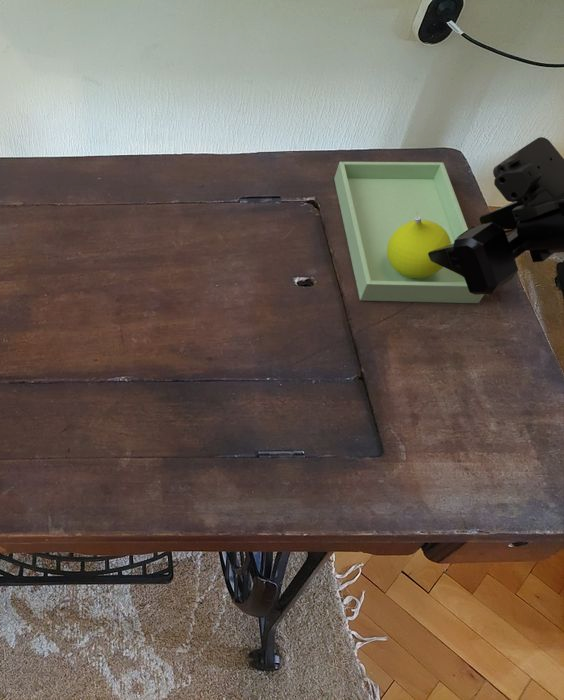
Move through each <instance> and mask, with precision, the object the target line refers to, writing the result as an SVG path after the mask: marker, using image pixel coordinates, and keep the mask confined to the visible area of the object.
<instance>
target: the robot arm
mask: <svg viewBox="0 0 564 700" xmlns="http://www.w3.org/2000/svg"><path fill="white" fill-rule="evenodd" d="M492 173H493V177H494V182H493V184H494V186H495V188H496V189H497V190H498V191H499V193H500V194H501V196H503V198H504V199H505V200H506V201H507V202H509V203H508V204H505V205H503V206H501V207H498V208H496V209H494V210H492V211H490V212H487V213H485V214H483V215H481V216H479V218H478V219H479V222H480V225H476V226H475V225H472V226H470V227H469V228H468V230H467V231H465V232H464V233H462V234H461V235H459V236H458V237H457V239H455V241H454V244H451V245H447V246H444V247H441V248H438V249H435V250H432V251H430V252H429V253H428V255H429V258H430V260H431V261H432V262H434V263H436V264H438V265H440V266H442V267H445V268H447V269H449V270H451V271H453V272H455V273H457V274H459V275H461V276H463V277H464V278H465V281H466V284H467V287H468V289H469V292H470V293H472V294H474V295H480V294H484V295H492V294H494V293H495V292H497V291H498V290H499V289H501V288H502V287H503V286H504V285H506V284H507V283H509V282H510V281H511V280H513V278H514V276H516V274H517V273H518V271H519V267H518V264H517V262H516V259H517V258H519V257H520V256H521V255H523V254H524V253H526V252H529V254H530V258H531V260H532V263H543V262H545V261H546V260H548V258H550V257H551V256H552V255H554V254H557V253H558V254H559V253H564V157H563V156H562V155H561V153H560V152H559V151H558V150H557V148H556V147H555V146H554V145H553V143H552V142H551V141H550V140H549V139H548V138H546V137H543V136H540V137H537V138H535V139H534V140H533V141H531V142H529V143H528V144H527V145H525V146H524V147H522V148H520V149H519V150H517V151H516V152H515V153H513V154H512V155H510V156H508V157H507V158H505V159H504V160H503V161H501V162H499V163H498V164H497V165H496V166H494V168H493V170H492ZM505 230H510V232H509V233H506V231H505ZM511 230H512V231H511Z"/></svg>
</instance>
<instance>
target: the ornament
mask: <svg viewBox="0 0 564 700" xmlns="http://www.w3.org/2000/svg"><path fill="white" fill-rule="evenodd" d="M416 212H417V211H416ZM447 245H451V241H450V238H449V235H448V234H447V232H446V231H445V230H444V229H443V228H442V227H441V226H440V225H438V224H436V223H434V222H431V221H427V220H421V217H419V216H417V217H416V218H415V221H411V222H408V223H406V224H404V225H402V226H401V227H399V228H398V229H397V230H396V231H395V232H394V233H393V235H392V236H391V238H390V240H389V243H388V247H387V255H388V260H389V262H390V264H391V266H392V267H393V268H394V269H395V270H396V271H397V272H398V273H400V274H401V275H404V276H406V277H410V278H426V277H429V276H431V275H433V274H435V273H437V272H438V271H439V270H441V269H442V268H443V267H442V266H440V265H438V264H436V263H434V262H432V261H431V260H430V258H429V255H428V253H429V252H430V251H432V250H435V249H438V248H441V247H444V246H447Z"/></svg>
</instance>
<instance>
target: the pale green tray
mask: <svg viewBox="0 0 564 700" xmlns="http://www.w3.org/2000/svg"><path fill="white" fill-rule="evenodd" d="M333 180H334V185H335V189H336V195H337V199H338V204H339V208H340V212H341V217H342V222H343V227H344V230H345V231H344V232H345V237H346V241H347V246H348V251H349V257H350V260H351V265H352V270H353V275H354V279H355V283H356V289H357V294H358V298H359V301H361V302H362V301H363V302H364V301H366V302H409V303H448V304H449V303H450V304H479V303H480V302H481V300H482V299H483V297H484V296H485V294H480V295H474V294H472V293H470V292H469V289H468V287H467V284H466V281H465V278H464V277H463V276H461V275H459V274H457V273H455V272H453V271H451V270H449V269H447V268H445V267H443V268H442V269H441V270H439V271H438V272H437V273H435V274H433V275H431V276H429V277H426V278H410V277H406V276H404V275H401V274H400V273H398V272H397V271H396V270H395V269H394V268H393V267H392V266H391V264H390V262H389V260H388V255H387V247H388V243H389V240H390V238H391V236H392V235H393V233H394V232H395V231H396V230H397V229H398V228H399V227H401V226H402V225H404V224H406V223H408V222H411V221H415V218H416V217H417V216H419V217H421V220H427V221H431V222H434V223H436V224H438V225H440V226H441V227H442V228H443V229H444V230H445V231H446V232H447V234H448V235H449V238H450V241H451V244H454V241H455V239H457V237H458V236H459V235H461V234H462V233H464V232H465V231H467V230H468V229H469V228H468V225H467V223H466V220H465V218H464V215H463V212H462V209H461V207H460V206H461V205H460V203H459V201H458V198H457V195H456V193H455V190H454V187H453V185H452V182H451V179H450V177H449V174H448V171H447V168H446V165H445V163H444V162H442V161H441V162H440V161H439V162H438V161H436V162H435V161H339V162H338V166H337V168H336V172H335V175H334V178H333ZM416 211H417V212H416Z"/></svg>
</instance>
